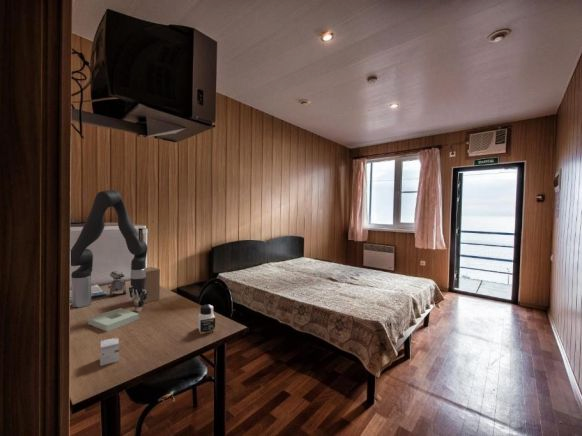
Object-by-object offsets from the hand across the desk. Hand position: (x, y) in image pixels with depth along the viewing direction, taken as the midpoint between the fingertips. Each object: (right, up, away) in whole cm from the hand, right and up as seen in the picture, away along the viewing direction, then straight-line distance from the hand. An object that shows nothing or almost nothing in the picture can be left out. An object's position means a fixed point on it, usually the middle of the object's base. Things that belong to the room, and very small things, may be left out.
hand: (138, 306), depth 153 cm
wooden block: (-4, -2, +17) cm, 18 cm away
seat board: (-4, -3, -15) cm, 16 cm away
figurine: (-29, -1, +27) cm, 40 cm away
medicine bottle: (+46, -5, -20) cm, 50 cm away
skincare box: (+16, -6, -48) cm, 51 cm away
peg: (0, -3, 0) cm, 3 cm away
